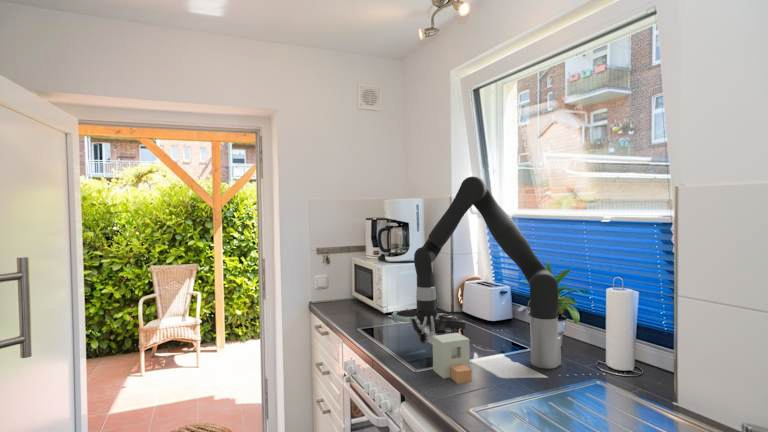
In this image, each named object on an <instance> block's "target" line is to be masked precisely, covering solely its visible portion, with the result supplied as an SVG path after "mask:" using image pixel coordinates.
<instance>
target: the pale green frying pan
mask: <svg viewBox="0 0 768 432" xmlns="http://www.w3.org/2000/svg"><path fill="white" fill-rule="evenodd" d="M416 314H417V309H409V310H403V311H398V312H393V313H392V312H391V317H392V316H393V317H392V319H393V318H394V319H395V320H394V319H393V320H394V321H396V322H399V323H406V324H407V323H408V324H412V323H411V321H410V318H411V317H412V318H413V317H415V316H416ZM416 323H420V321H419V320H418V319H417V322H416Z"/></svg>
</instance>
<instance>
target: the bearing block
mask: <svg viewBox="0 0 768 432" xmlns="http://www.w3.org/2000/svg"><path fill="white" fill-rule="evenodd" d="M432 340H433V345H432V371H433V372H435V373H436V374H437V375H438V376H439V377H441V378H442V379H447V378H449V379H451V366H457V365H465V366H467V367H468V368H470V369H471V365H470V364H471V360H470V359H471V357H470V356H471V355H470V352H471V351H470V339H469V338H468V337H466V336H465V335H463V334H461V333H459V332H455V333H454V332H453V333H443V334H440V335H439V334H437V336H432ZM455 347H458V356H455V357H451V348H455Z"/></svg>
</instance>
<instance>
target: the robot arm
mask: <svg viewBox="0 0 768 432" xmlns="http://www.w3.org/2000/svg"><path fill="white" fill-rule="evenodd" d="M472 206H474V208H475V209H477V211H478V212H479V214H480V215H481V217H482V218H483V220H484V223H485V225H486V227H487V229H488V230H489V232H490V234H491V235H492V237H493V239H494V241H495V242H496V243H497V244H498V245H499V247H500V248H501V249H502V251H503V253H505V254H506V256H507V257H509V258H510V259H511V261H513V263H515V264H516V266H518V268H519V269H520V271H521V272H522V274H523V276H524V277H525V279H526V280H527V283H528V285H529V318H530V319H529V320H530V321H529V324H530V326H529V327H530V329H529V330H530V333H529V334H530V364H531V365H532V366H534V367H535V368H539V369H547V370H548V369H550V370H551V369H555V368H558V367H559V366H561V364H562V362H561V360H562V359H561V357H562V356H561V355H562V354H561V353H562V352H561V349H562V348H561V347H562V346H561V338H560V337H559V325H558V324H559V323H558V322H559V321H558V319H559V318H558V313H559V312H558V311H559V284H558V281H557V279H556V277H555V275H553V273H552V272H550V271H549V270H548V268H547V267H546V266H545V265H544V264H543V263H542V261H541V260H540V259H538V257H537V256H536V254H535V252H534V251H533V249H532V248H531V246H530V243H529V242H528V239H526V237H525V235H524V234H523V232H522V231H521V230H520V228H519V227H518V226H517V225H516V223H515V222H514V220H513V219H512V218H511V217H510V215H509V214H507V212H506V211H505V210H504V209H503V208H502V207H501V206H500V205H499V203H498V202H497V200H496V199H495V198H494V196H493V194H492V192H491V191H490V189H489V187H488V186H487V184H486V182H485V181H484V179H482V178H480V177H478V176H473V175H472V176H469V177H466V178H465V179H464V180H462V182H461V184H460V186H459V189H458V191H457V192H456V195H455V196H454V198H453V200H452V202H451V203H450V205H449V206H448V208H447V210H446V211H445V212H444V214H443V215H442V216H441V218H440V219H439V220H438V221H437V223H436V224H435V226H433V228H432V230H431V231H430V233H429V235H428V238H427V239H426V241H425V243H423V245H422V246H421V247H419V248H416V250H415V252H414V254H413V261H414V262H413V264H414V268H415V273H416V293H415V295H416V296H415V298H416V310H417V314H416V316H415V317H413V318H412V317H411V318H410V321H411V323H410V324H411V325H412V327H413V329H414V331H415V333H416V332H418V333H419V335H420V336H419V342H421V344H425V342H426V340H425V334H424V331H425V327H426V328H427V326H428V329H429V330H431V331H432V332H434V333H436V332H437V331H438V330H439V328H440V325H441V323H442V320H443V316H442V315H443V314H440V313H438V312H437V292H436V291H437V290H436V278H435V272H434V271H433V264H432V263H433V262H434V261H435V260H436V259H437V257H438V255H440V252H441V250H442V249H443V247H444V246H445V244H446V243H447V242H448V240H449V239H450V238H451V236H452V235H453V234H454V232H455V231H456V229H457V228H458V226H459V224H460V222H461V220H462V219H463V217H464V216H465V214H466V213H467V211H468V210H469V209H470V208H471V207H472ZM435 318H436V322H435V325H434V320H435ZM417 319H418V320H419V321H420V322H417ZM418 326H419V328H418Z"/></svg>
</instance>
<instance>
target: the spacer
mask: <svg viewBox="0 0 768 432" xmlns="http://www.w3.org/2000/svg"><path fill="white" fill-rule="evenodd" d="M472 374H473V372H472V369H471V367H470V368H468V367H467V366H465V365H457V366H451V377H450V379H451V380H453V381H454V382H455V383H456V384H458V385H460V384H464V383H470V382H472V380H473V375H472Z"/></svg>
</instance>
